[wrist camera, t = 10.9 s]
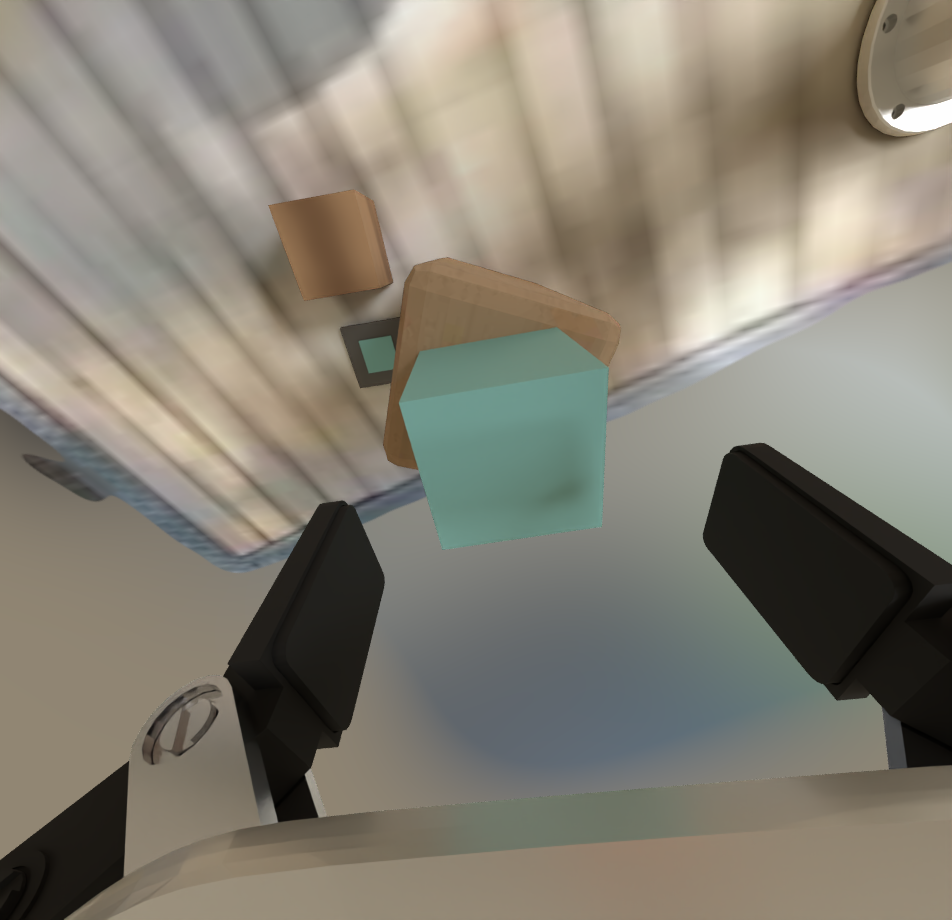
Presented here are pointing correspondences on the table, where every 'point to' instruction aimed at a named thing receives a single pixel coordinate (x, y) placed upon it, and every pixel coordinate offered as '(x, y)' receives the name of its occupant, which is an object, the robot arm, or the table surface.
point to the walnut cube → (333, 244)
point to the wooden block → (479, 325)
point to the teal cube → (509, 436)
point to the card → (372, 350)
